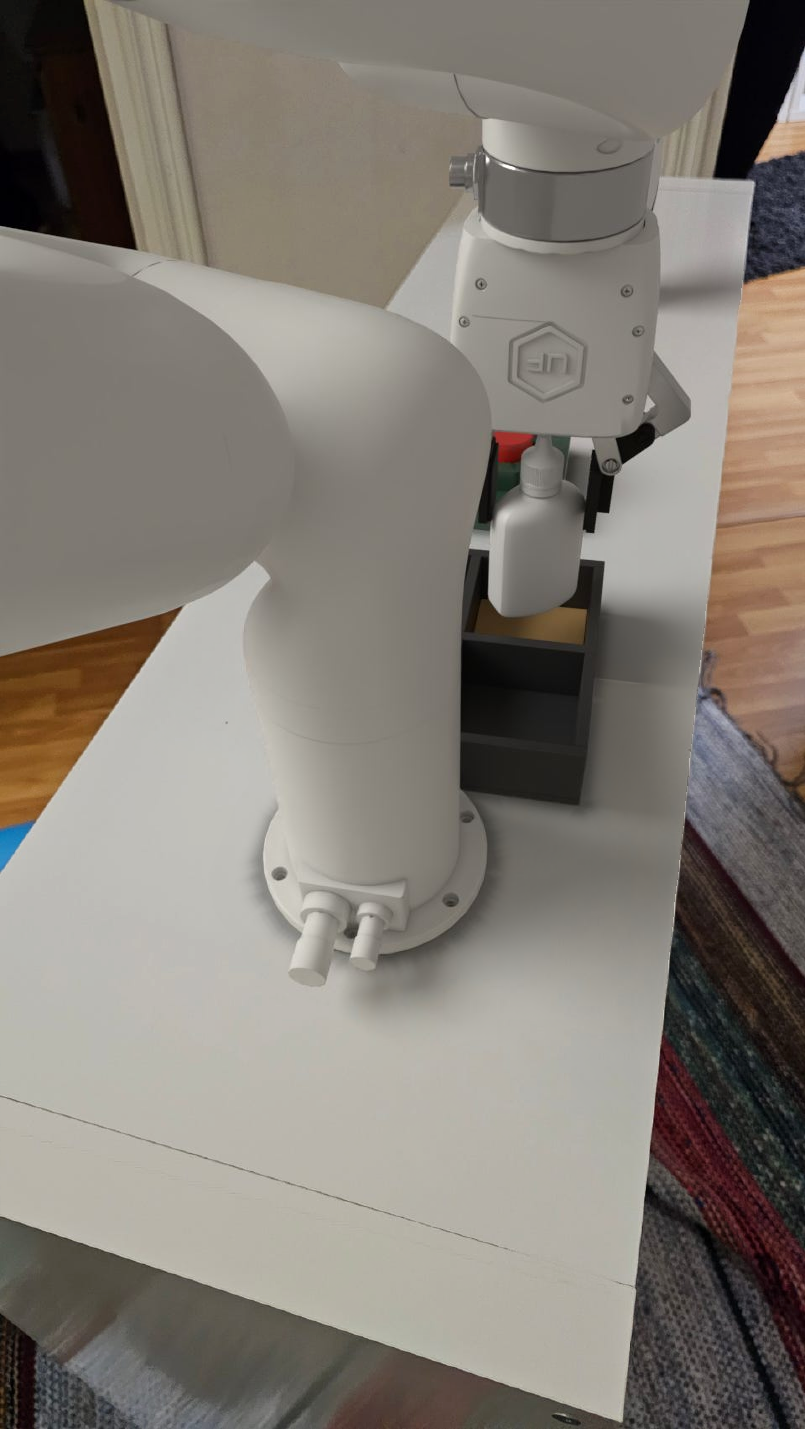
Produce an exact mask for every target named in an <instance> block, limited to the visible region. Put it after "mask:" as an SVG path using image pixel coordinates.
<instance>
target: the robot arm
mask: <svg viewBox="0 0 805 1429" xmlns="http://www.w3.org/2000/svg"><path fill="white" fill-rule="evenodd" d="M104 1H105V2H109V3H111V4H114V5H117V6H119V7H122V8H125V9H128V10H130V11H132V12H135V13H138V14H140V15H143V16H145V17H148V18H150V19H153V20H155V21H158V22H160V23H164V24H166V25H169V26H172V27H174V28H178V29H181V30H184V31H186V32H189V33H193V34H195V35H200V36H205V37H209V38H212V39H213V38H214V39H217V40H222V41H227V42H233V43H237V44H242V45H245V46H249V47H253V48H256V49H261V50H265V51H269V52H274V53H280V54H285V55H291V56H296V57H301V58H304V59H305V58H306V59H312V60H318V61H325V62H333V63H338V65H339V66H340V68H341V69H342V70H343V72H344V73H345V74H346V75H347V76H348V77H349V78H350V79H351V80H352V81H353V82H354V83H355V84H357V86H359V87H360V88H361V89H363V90H365V91H366V92H368V93H369V94H371V95H373V96H374V97H376V98H379V99H381V100H384V101H386V102H389V103H392V104H395V105H399V106H402V107H407V108H411V109H415V110H420V111H429V112H434V113H442V114H449V115H455V116H460V117H467V118H473V119H480V120H482V121H481V124H482V126H481V130H482V131H481V143H482V144H481V145H478V146H477V148H476V151H475V152H468V153H467V154H466V155H465V156H464V155H463V156H462V155H461V156H460V155H451V157H450V161H449V173H448V175H449V177H448V180H449V181H448V182H449V189H452V190H465V193H467V194H468V193H469V194H470V193H471V194H473V200H474V201H477V202H478V204H477V206H475V207H474V208H473V209H472V210H471V212H470V213H469V215H468V217H467V218H466V219H465V221H464V223H463V227H462V231H461V235H460V241H459V245H458V252H457V257H456V258H457V259H456V266H455V271H454V282H453V293H452V304H451V318H450V320H451V321H450V336H449V337H450V338H449V340H448V339H447V338H445V337H444V336H442V335H441V334H439V333H438V332H436V331H434V330H433V329H431V328H429V327H428V326H426V325H423V324H421V323H420V322H417V321H414V320H413V319H410V318H409V317H407V316H403V315H401V314H399V313H396V312H394V311H390V310H387V309H384V308H382V307H378V306H375V305H372V304H368V303H364V302H361V301H356V300H353V299H348V298H344V297H339V296H336V295H332V294H328V293H325V292H321V291H316V290H312V289H309V288H304V287H299V286H296V285H292V284H288V283H284V282H281V281H280V282H279V281H269V280H265V279H264V280H263V279H259V278H255V277H251V276H247V275H243V274H239V273H235V272H231V271H227V270H223V269H219V268H214V267H211V266H206V265H202V264H198V263H194V262H191V261H187V260H182V259H177V258H174V257H170V256H165V255H160V254H157V253H151V252H148V251H142V250H136V249H132V248H125V247H119V246H112V245H108V244H102V243H96V242H89V241H85V240H84V241H83V240H79V239H73V238H68V237H63V236H56V235H51V234H47V233H46V234H45V233H41V232H36V231H29V230H23V229H18V228H12V227H7V226H1V225H0V657H4V656H7V655H10V654H11V655H12V654H15V653H18V652H19V653H20V652H22V651H27V650H31V649H34V648H38V647H42V646H47V645H49V644H52V643H57V642H61V641H65V640H68V639H72V638H76V637H80V636H84V635H88V634H91V633H95V632H99V631H103V630H106V629H107V630H108V629H110V628H114V627H119V626H121V625H125V624H129V623H134V622H138V621H141V620H146V619H149V618H153V617H156V616H159V615H162V614H166V613H168V612H171V611H174V610H176V609H178V608H181V607H183V606H185V605H188V604H190V603H193V602H195V601H197V600H199V599H203V598H204V597H207V596H209V595H211V594H213V593H214V592H216V591H218V590H220V589H221V588H223V587H224V586H226V585H228V584H229V583H230V582H232V581H233V580H234V579H235V578H237V577H238V576H240V575H241V574H242V573H243V572H245V570H247V568H249V567H250V566H251V565H252V564H253V563H254V562H255V563H257V564H258V565H259V566H260V567H261V568H263V570H264V571H265V572H266V573H267V575H268V576H269V579H268V580H267V581H266V583H265V584H264V585H263V587H262V588H261V589H260V590H259V591H258V593H257V594H256V595H255V597H254V599H253V600H252V602H251V604H250V607H249V608H248V612H247V613H246V616H245V620H244V622H243V623H244V624H243V630H242V654H243V661H244V666H245V672H246V676H247V680H248V684H249V688H250V691H251V694H252V699H253V704H254V708H255V712H256V717H257V721H258V725H259V730H260V733H261V738H262V743H263V747H264V751H265V756H266V760H267V764H268V768H269V773H270V778H271V782H272V786H273V790H274V795H275V799H276V803H277V804H276V805H277V808H278V809H277V811H275V814H274V816H273V817H272V818H271V821H270V823H269V826H268V829H267V831H266V834H265V837H264V845H263V852H262V861H263V872H264V877H265V880H266V884H267V888H268V891H269V893H270V895H271V898H272V900H273V902H274V904H275V906H276V907H277V909H278V910H279V912H280V913H281V914H282V916H283V917H284V918H285V920H287V922H288V924H290V925H291V926H292V927H294V928H295V929H296V930H297V931H298V932H300V933H301V936H300V938H298V940H297V942H296V944H295V948H294V951H293V955H292V958H291V960H290V965H289V968H288V972H287V973H288V976H289V978H290V979H291V980H293V981H294V982H296V983H298V984H300V985H303V986H307V987H311V988H318V987H322V986H325V985H326V982H327V979H328V976H329V972H330V969H331V965H332V961H333V957H334V954H335V950H336V951H339V952H343V953H347V954H349V953H350V956H349V960H348V962H349V964H350V966H352V967H353V968H355V969H357V970H360V971H367V972H368V971H374V970H375V969H376V968H377V963H378V959H379V955H389V954H394V953H399V952H402V951H406V950H411V949H414V948H416V947H419V946H421V945H423V944H425V943H428V942H430V941H433V940H434V939H436V938H438V937H439V936H440V935H442V934H443V933H445V932H446V931H447V930H449V929H451V928H452V927H453V926H454V925H455V924H456V923H457V922H458V921H460V920H461V918H462V917H463V916H465V914H466V913H467V912H468V910H469V909H470V907H471V906H472V904H473V903H474V901H475V900H476V898H478V895H479V892H480V890H481V887H482V885H483V882H484V880H485V875H486V869H487V863H488V839H487V834H486V828H485V824H484V822H483V820H482V817H481V815H480V812H479V811H478V810H479V809H477V807H476V806H475V804H474V803H473V802H472V800H471V799H470V796H468V794H467V793H466V792H465V791H464V790H461V789H460V710H461V623H462V601H463V590H464V579H465V571H466V565H467V558H468V551H469V549H470V546H471V541H472V536H473V531H474V529H473V527H474V523H475V519H476V514H477V510H478V506H479V512H478V523H481V524H487V523H488V522H491V519H492V509H493V507H494V505H495V501H496V496H497V480H498V455H499V442H496V437H494V434H495V431H499V432H511V433H524V434H538V435H552V436H566V437H571V438H581V439H582V438H584V439H591V441H592V444H593V448H594V449H593V448H592V449H591V456H590V464H589V472H588V479H587V480H588V481H587V488H586V497H585V501H586V504H585V512H584V520H583V529H582V530H584V531H585V533H586V534H595V530H596V524H597V517H598V513H599V514H610V510H611V504H612V498H613V497H612V496H613V490H614V483H615V476H616V475H618V474H619V473H620V472H621V471H622V468H623V465H624V464H626V463H628V462H629V461H631V460H632V459H634V457H636V456H638V455H640V454H641V453H642V452H644V451H645V450H647V449H648V448H650V447H652V445H653V444H654V443H655V440H657V439H658V438H660V437H661V438H663V437H664V436H666V435H668V434H669V433H671V432H672V431H674V430H676V429H678V428H679V427H681V426H682V425H684V424H686V423H687V422H688V421H689V420H690V419H691V418H692V417H691V416H692V400H691V398H690V397H689V395H688V394H687V393H686V391H685V390H684V388H683V387H682V386H681V384H680V383H679V382H678V381H677V379H676V378H675V376H674V375H673V374H672V372H671V371H670V370H669V368H668V367H667V366H666V364H665V362H663V360H662V359H661V358H660V356H659V355H658V353H657V351H655V343H656V334H657V324H658V313H659V305H660V291H661V290H660V289H661V254H662V252H661V234H660V227H659V226H660V225H659V222H658V218H657V214H655V213H654V212H652V211H651V210H650V209H649V208H647V207H646V204H647V197H648V190H649V183H650V175H651V168H652V161H653V154H654V146H655V141H656V139H659V138H661V137H662V138H664V137H666V136H669V135H671V134H673V133H675V132H676V131H678V130H679V129H680V128H682V127H683V126H684V125H686V124H687V123H689V122H691V121H692V119H693V118H694V117H695V116H696V115H697V114H698V113H699V112H700V111H701V110H702V109H703V107H704V106H705V105H706V103H707V102H708V101H709V100H710V98H711V97H712V95H713V94H714V93H715V91H716V90H717V88H718V86H719V84H720V82H721V81H722V79H723V78H724V75H725V74H726V72H727V70H728V68H729V66H730V63H731V61H732V59H733V57H734V55H735V52H736V50H737V47H738V44H739V41H740V39H741V35H742V32H743V29H744V25H745V23H746V17H747V13H748V9H749V5H750V0H104ZM648 397H649V398H650V400H651V401H652V403H653V404H654V406H652V407H650V408H649V410H648V411H646V412H645V408H646V404H647V400H648ZM352 937H354V938H352Z"/></svg>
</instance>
